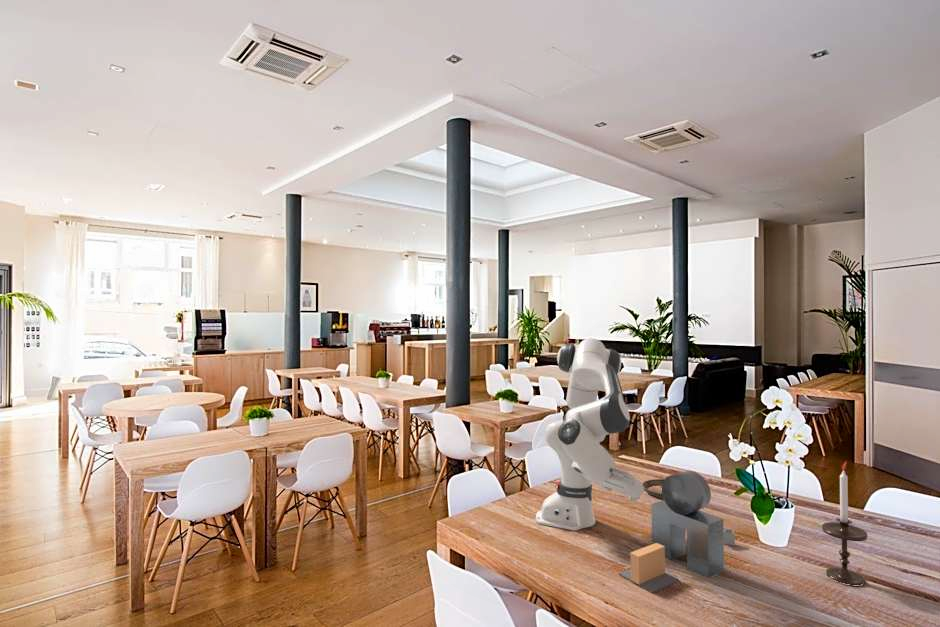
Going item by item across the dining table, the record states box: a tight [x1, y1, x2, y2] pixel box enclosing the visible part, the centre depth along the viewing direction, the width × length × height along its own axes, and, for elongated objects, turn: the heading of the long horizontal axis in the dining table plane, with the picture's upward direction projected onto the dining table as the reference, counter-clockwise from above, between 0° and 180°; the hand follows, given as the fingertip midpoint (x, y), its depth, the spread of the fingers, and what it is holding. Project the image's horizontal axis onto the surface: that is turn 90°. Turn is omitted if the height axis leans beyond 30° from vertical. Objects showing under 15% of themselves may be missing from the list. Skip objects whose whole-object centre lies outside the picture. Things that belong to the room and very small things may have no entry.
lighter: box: [723, 527, 736, 547], centre depth 175 cm, size 7×2×8 cm, turn 72°
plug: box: [629, 543, 666, 585], centre depth 152 cm, size 12×3×8 cm, turn 123°
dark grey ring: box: [641, 478, 665, 499], centre depth 225 cm, size 21×21×3 cm
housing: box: [651, 470, 725, 579], centre depth 162 cm, size 8×20×28 cm, turn 33°
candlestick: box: [821, 461, 868, 585], centre depth 151 cm, size 11×11×35 cm
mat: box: [618, 568, 680, 593], centre depth 152 cm, size 12×12×1 cm
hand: (622, 493), depth 146 cm, fingers open, 8 cm apart
